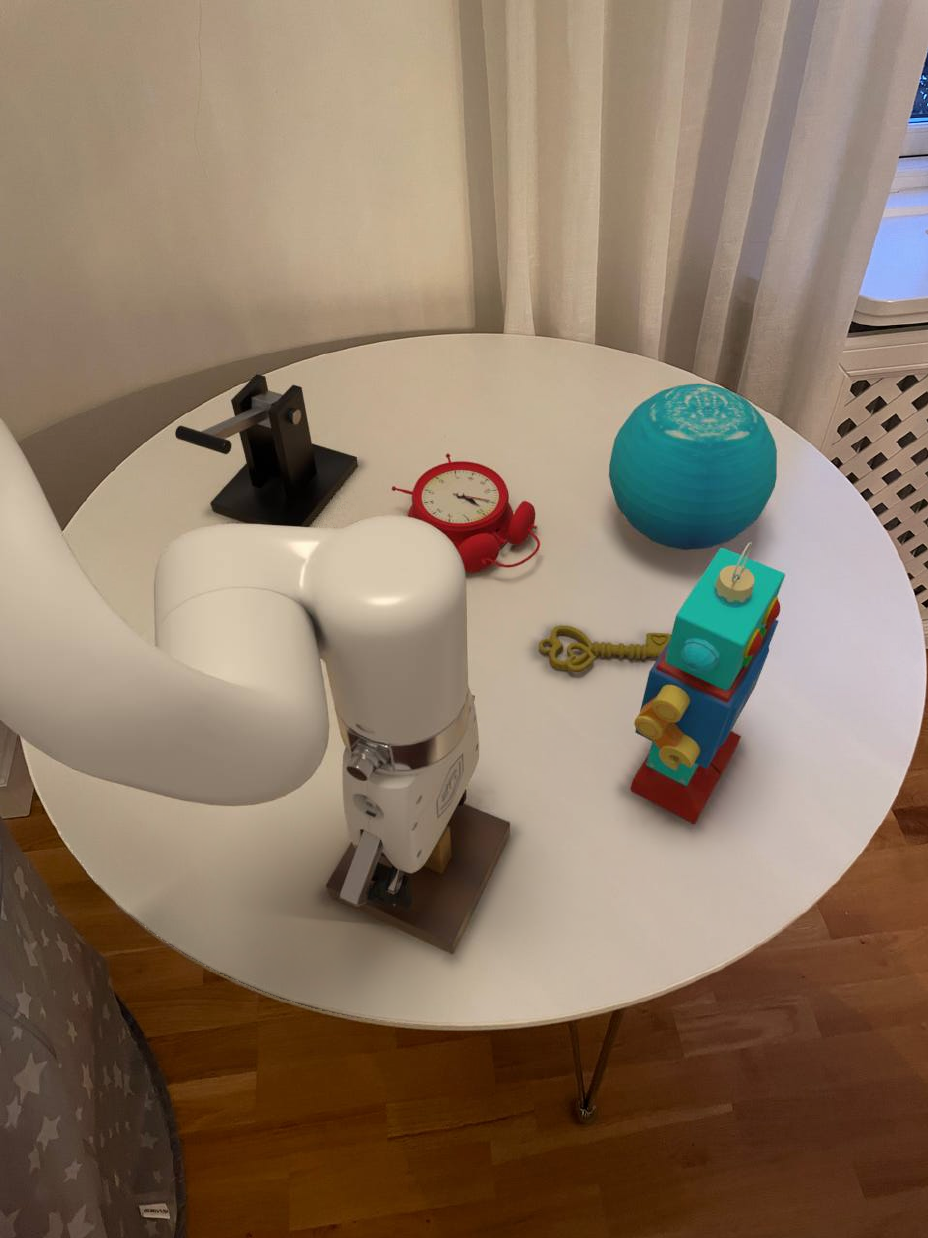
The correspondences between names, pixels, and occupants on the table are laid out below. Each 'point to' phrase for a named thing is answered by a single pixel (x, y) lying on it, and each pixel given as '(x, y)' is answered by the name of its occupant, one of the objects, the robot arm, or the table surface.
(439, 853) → the thumbturn
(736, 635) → the toy robot
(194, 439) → the door lever
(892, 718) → the table surface
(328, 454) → the black handle mount
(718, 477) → the decorative orb
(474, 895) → the plate
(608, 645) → the key
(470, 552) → the alarm clock
